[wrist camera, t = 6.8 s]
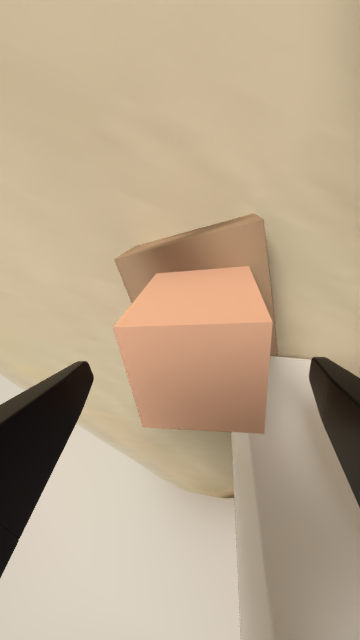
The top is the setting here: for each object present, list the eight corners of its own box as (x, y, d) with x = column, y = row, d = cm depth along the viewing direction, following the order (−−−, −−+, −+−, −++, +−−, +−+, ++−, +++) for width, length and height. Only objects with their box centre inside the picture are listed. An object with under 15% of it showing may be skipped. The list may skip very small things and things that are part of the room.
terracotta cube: (249, 266, 12) (272, 322, 7) (247, 345, 14) (264, 433, 9) (156, 273, 13) (113, 327, 8) (169, 347, 15) (142, 426, 10)
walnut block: (253, 213, 14) (263, 219, 11) (266, 323, 18) (277, 355, 14) (136, 245, 16) (114, 259, 13) (169, 338, 20) (158, 368, 16)
